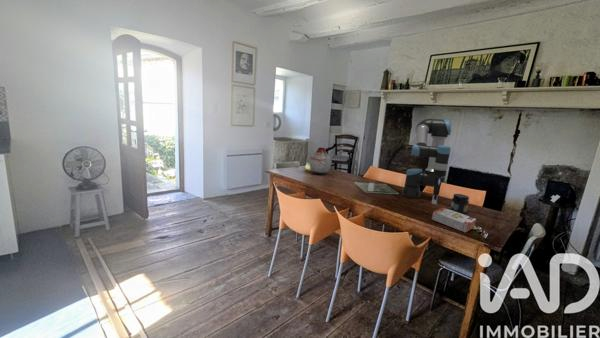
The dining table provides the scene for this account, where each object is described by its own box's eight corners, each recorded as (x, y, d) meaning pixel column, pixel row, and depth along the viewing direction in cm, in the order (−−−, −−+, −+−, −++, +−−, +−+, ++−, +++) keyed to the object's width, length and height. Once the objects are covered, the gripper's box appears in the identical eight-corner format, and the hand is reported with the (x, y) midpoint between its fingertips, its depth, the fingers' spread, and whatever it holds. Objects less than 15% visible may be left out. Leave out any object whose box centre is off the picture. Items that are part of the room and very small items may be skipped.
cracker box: (442, 206, 178) (477, 218, 162) (440, 214, 179) (474, 227, 164) (432, 210, 169) (468, 224, 154) (430, 219, 171) (466, 233, 155)
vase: (319, 170, 297) (321, 146, 291) (335, 175, 280) (337, 149, 274) (304, 172, 282) (305, 146, 276) (319, 177, 265) (321, 150, 259)
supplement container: (469, 212, 190) (472, 197, 187) (461, 214, 185) (464, 198, 182) (455, 207, 199) (458, 192, 196) (446, 209, 194) (449, 194, 191)
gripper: (432, 166, 178) (427, 199, 183) (434, 170, 166) (428, 205, 171) (445, 168, 175) (439, 201, 180) (448, 172, 163) (441, 207, 168)
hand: (433, 203), depth 175 cm, fingers closed
